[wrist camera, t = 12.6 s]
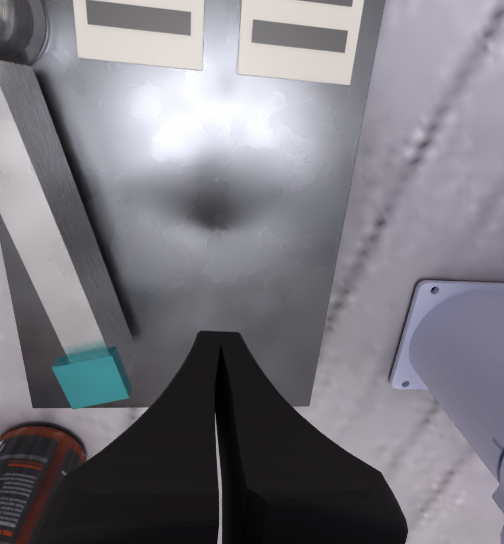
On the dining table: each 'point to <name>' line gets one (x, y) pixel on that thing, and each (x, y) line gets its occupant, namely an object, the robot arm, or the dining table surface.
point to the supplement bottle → (32, 476)
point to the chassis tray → (200, 202)
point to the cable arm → (60, 247)
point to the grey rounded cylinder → (23, 30)
